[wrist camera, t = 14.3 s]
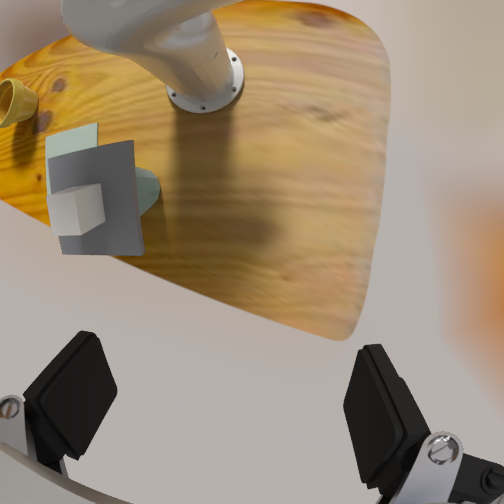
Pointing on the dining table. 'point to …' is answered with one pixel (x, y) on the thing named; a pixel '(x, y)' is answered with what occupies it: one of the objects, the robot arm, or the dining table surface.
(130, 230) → the lid
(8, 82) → the plant pot
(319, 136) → the dining table surface
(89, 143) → the mat
